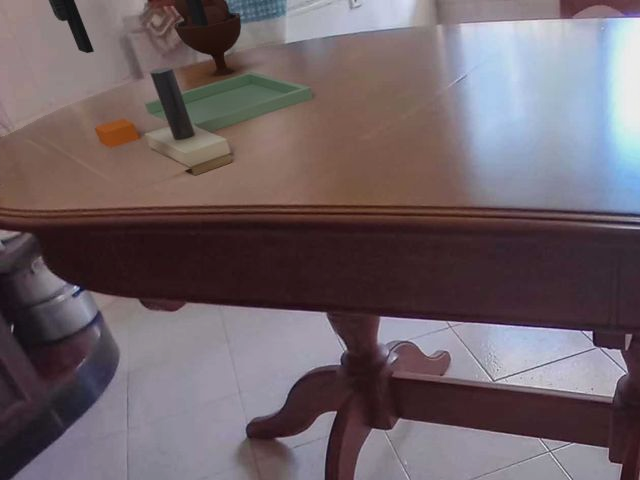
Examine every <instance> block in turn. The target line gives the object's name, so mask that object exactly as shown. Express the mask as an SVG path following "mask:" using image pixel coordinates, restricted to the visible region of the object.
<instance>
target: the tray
mask: <svg viewBox="0 0 640 480" xmlns="http://www.w3.org/2000/svg"><path fill="white" fill-rule="evenodd" d="M180 92H181V95H182V98H183V101H184V103H185V106H186V109H187V112H188V115H189V118H190V121H191V124H192V125H193V126H196V127H198V128H200V129H203V130H205V131H208V132H210V133H213V132H214V131H219V130H222V129H224V128H227V127H230V126H233V125H236V124H240V123H243V122H244V121H249V120H251V119H254V118H258V117H261V116H263V115H266V114H269V113H272V112H276V111H279V110H282V109H285V108H289V107H291V106H294V105H296V104H300V103H303V102H306V101H309V100H312V99H314V95H313V92H312V87H310V86H307V85H302V84H298V83H295V82H290V81H288V80H283V79H279V78H276V77H273V76H268V75H265V74H261V73H257V72H253V71H250V72H247V73H243V74H240V75H236V76H233V77H229V78H226V79H222V80H218V81H215V82H212V83H208V84H206V85H202V86H198V87H194V88H190V89H188V90H185V91H180ZM144 105H145V107H146V111H147V113H148V114H149V115H151V116H154V117H156V118H159V119H161V120H164V121H166V122H168V121H167V119H166V116H165V113H164V110H163V108H162V105H161V102H160V99H159V98H157V99H154V100H150V101H146V102H144Z"/></svg>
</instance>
